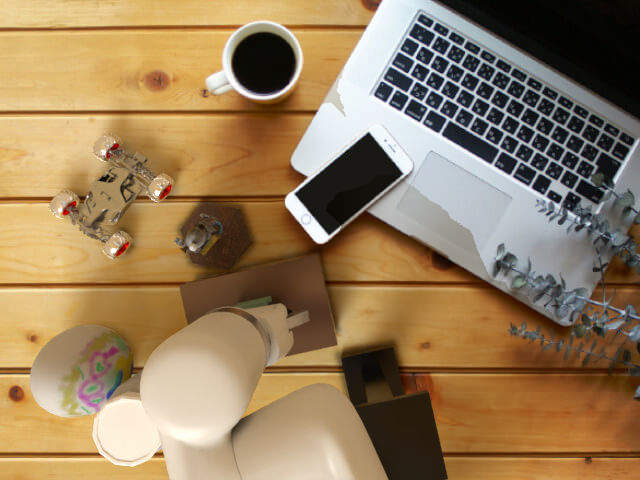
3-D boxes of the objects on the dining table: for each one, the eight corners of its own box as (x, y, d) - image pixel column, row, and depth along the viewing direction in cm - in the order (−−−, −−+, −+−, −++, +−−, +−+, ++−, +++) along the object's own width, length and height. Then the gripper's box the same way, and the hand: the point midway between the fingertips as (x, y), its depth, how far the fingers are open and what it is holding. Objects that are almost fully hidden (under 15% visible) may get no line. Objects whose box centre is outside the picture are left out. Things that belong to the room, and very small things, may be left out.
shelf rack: (336, 329, 78) (337, 345, 67) (217, 356, 78) (198, 375, 67) (318, 252, 78) (317, 254, 67) (199, 278, 78) (178, 285, 67)
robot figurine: (217, 187, 78) (198, 178, 66) (265, 227, 78) (253, 225, 66) (170, 243, 78) (142, 244, 66) (217, 283, 78) (197, 291, 66)
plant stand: (408, 399, 78) (448, 479, 52) (349, 412, 78) (360, 498, 52) (395, 340, 78) (429, 392, 52) (336, 353, 78) (341, 411, 52)
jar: (131, 405, 79) (73, 454, 61) (154, 345, 79) (103, 377, 61) (191, 429, 79) (150, 486, 61) (214, 369, 78) (181, 408, 60)
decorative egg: (132, 408, 79) (86, 449, 64) (54, 389, 79) (-10, 424, 64) (151, 330, 79) (110, 352, 64) (73, 310, 79) (14, 327, 64)
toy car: (120, 260, 79) (105, 262, 73) (57, 212, 79) (38, 210, 74) (180, 181, 78) (170, 177, 73) (117, 133, 78) (102, 126, 73)
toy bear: (277, 326, 67) (270, 338, 59) (244, 333, 67) (232, 347, 59) (270, 295, 67) (262, 304, 59) (237, 303, 67) (224, 312, 59)
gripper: (142, 413, 46) (194, 362, 64) (328, 372, 46) (327, 333, 64) (123, 330, 46) (181, 303, 64) (310, 289, 46) (314, 274, 64)
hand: (254, 318), depth 64 cm, fingers closed on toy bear, 4 cm apart
